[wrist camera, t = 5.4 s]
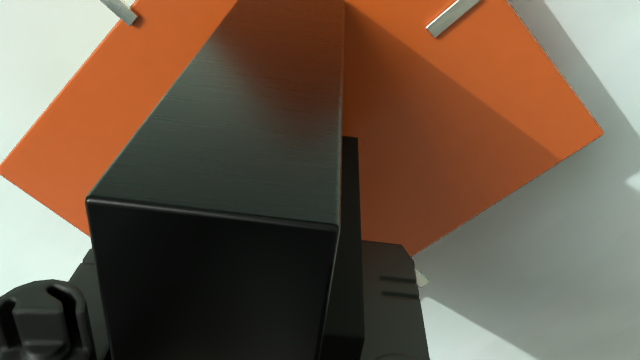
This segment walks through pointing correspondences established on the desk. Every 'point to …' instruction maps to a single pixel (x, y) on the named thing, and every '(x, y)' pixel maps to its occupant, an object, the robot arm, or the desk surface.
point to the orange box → (358, 109)
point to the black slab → (230, 196)
